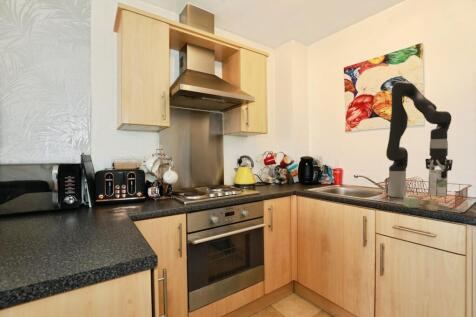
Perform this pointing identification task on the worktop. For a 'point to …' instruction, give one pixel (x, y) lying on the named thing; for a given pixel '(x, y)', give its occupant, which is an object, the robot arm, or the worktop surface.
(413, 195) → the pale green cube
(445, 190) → the syrup box
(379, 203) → the worktop surface
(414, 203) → the sage cube
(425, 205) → the beech cube
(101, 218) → the worktop surface
